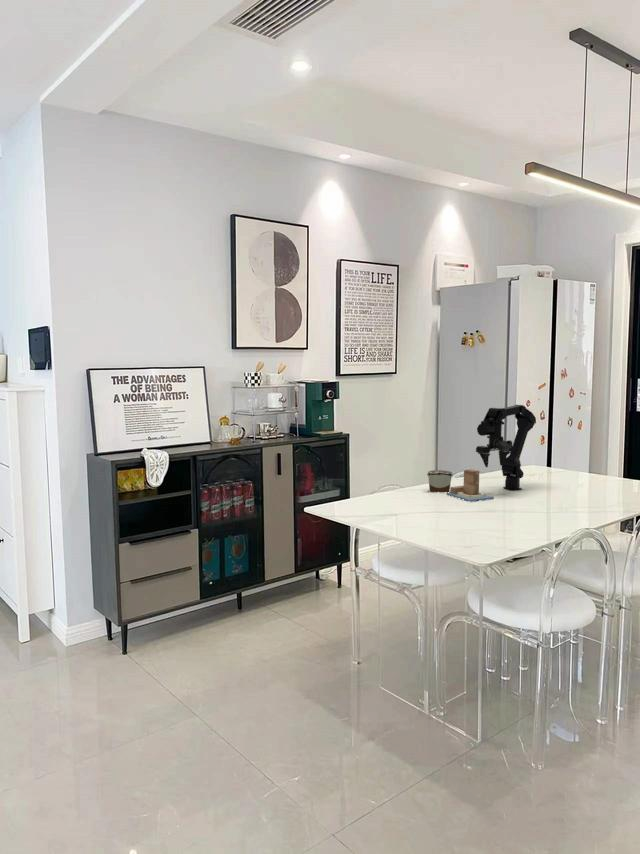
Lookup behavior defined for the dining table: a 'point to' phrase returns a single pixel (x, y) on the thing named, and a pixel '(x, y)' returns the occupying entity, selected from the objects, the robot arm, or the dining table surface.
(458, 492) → the blueprint board
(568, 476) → the dining table surface
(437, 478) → the food container
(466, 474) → the pillar
